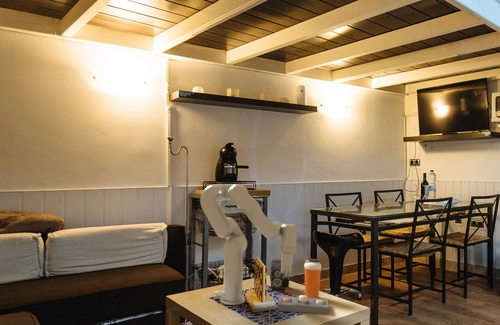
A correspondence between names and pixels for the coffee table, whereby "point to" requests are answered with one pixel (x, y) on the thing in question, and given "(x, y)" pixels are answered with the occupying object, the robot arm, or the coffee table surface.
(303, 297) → the button cream
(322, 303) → the button sage
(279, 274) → the camera
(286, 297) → the button rust
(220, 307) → the coffee table surface
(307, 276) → the shaker bottle
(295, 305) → the panel
